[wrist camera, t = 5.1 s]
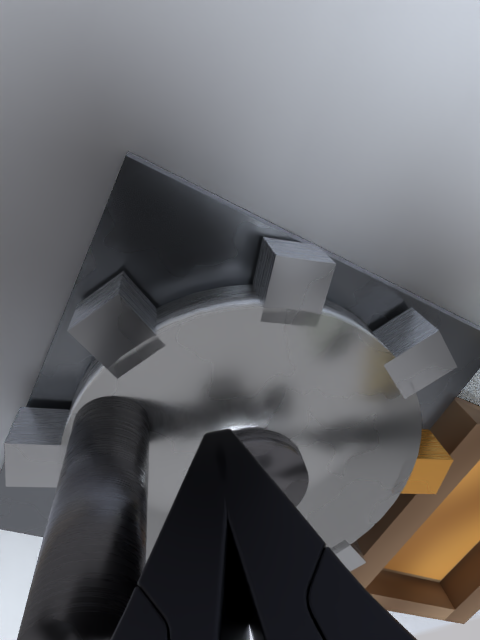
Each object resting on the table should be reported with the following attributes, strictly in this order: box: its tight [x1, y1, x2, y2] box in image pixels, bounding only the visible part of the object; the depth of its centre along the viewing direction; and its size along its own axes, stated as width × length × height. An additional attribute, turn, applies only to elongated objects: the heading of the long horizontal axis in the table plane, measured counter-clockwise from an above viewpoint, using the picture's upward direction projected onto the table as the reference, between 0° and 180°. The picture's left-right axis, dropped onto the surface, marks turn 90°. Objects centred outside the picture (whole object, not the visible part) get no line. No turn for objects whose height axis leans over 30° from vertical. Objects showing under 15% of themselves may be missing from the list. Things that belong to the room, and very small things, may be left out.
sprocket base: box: [0, 151, 480, 537], centre depth 14 cm, size 12×12×1 cm
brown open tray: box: [350, 397, 480, 624], centre depth 18 cm, size 7×9×2 cm
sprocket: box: [4, 237, 457, 640], centre depth 11 cm, size 12×12×6 cm
